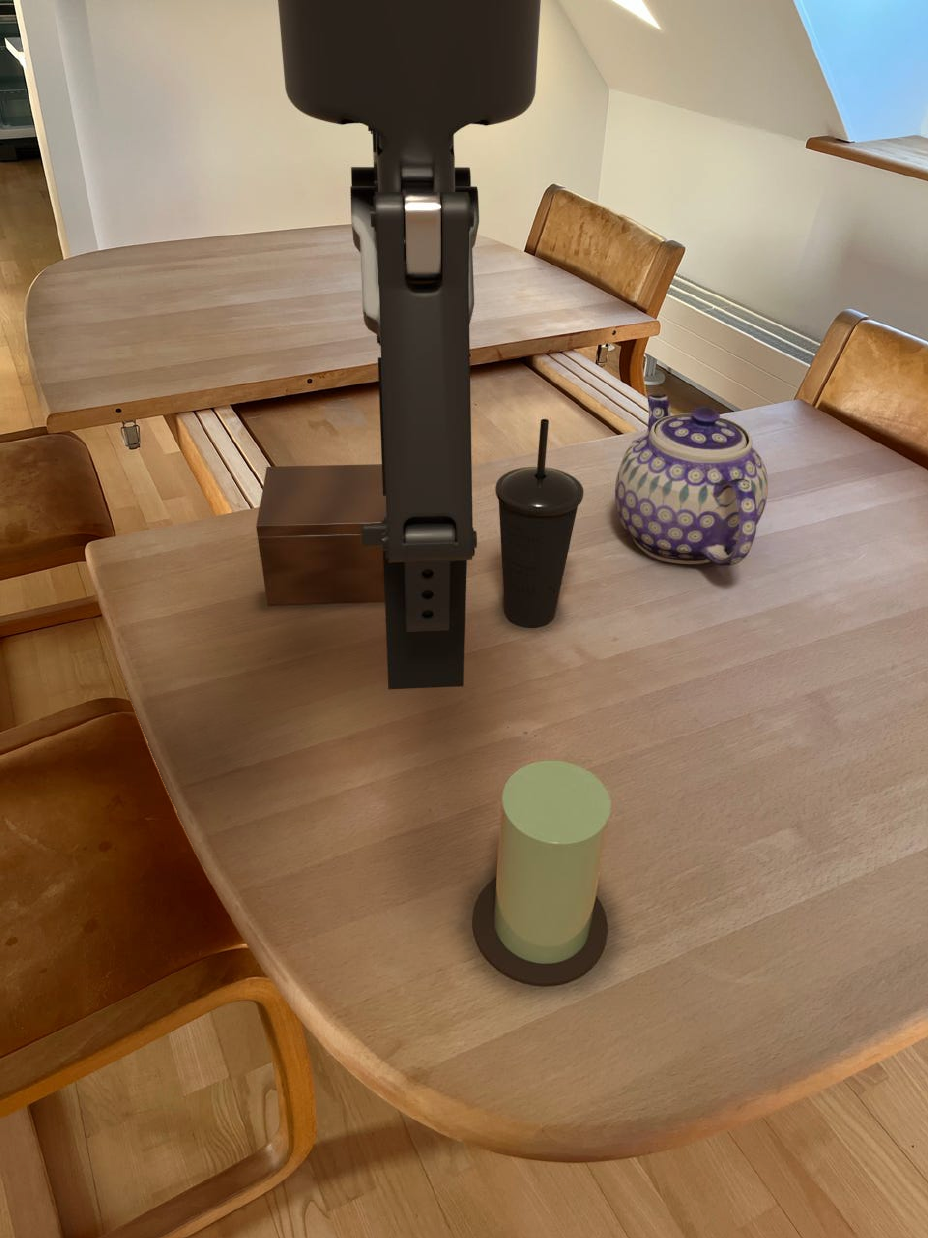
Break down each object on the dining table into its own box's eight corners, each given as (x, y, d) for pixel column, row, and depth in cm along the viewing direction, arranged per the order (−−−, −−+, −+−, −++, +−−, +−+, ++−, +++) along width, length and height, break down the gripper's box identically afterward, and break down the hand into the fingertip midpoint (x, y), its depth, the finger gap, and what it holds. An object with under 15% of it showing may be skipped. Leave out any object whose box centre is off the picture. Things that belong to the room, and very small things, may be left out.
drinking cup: (491, 637, 86) (501, 441, 74) (487, 588, 92) (496, 400, 80) (573, 637, 87) (597, 442, 74) (564, 589, 93) (585, 400, 80)
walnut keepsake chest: (267, 605, 90) (256, 525, 84) (275, 542, 98) (266, 466, 93) (413, 600, 91) (412, 521, 85) (409, 538, 99) (407, 463, 94)
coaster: (479, 991, 59) (479, 987, 58) (466, 872, 66) (467, 868, 65) (620, 981, 59) (621, 978, 59) (593, 865, 66) (593, 861, 66)
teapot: (798, 603, 92) (839, 466, 82) (648, 615, 89) (672, 477, 80) (706, 477, 111) (731, 355, 102) (581, 484, 109) (595, 361, 100)
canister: (499, 967, 59) (508, 846, 52) (489, 883, 64) (496, 762, 57) (598, 961, 60) (621, 840, 53) (580, 878, 65) (599, 757, 58)
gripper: (645, -7, 17) (552, 795, 30) (494, -63, 36) (478, 434, 49) (218, -14, 16) (314, 806, 29) (299, -68, 36) (335, 437, 49)
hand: (417, 574), depth 39 cm, fingers open, 13 cm apart
